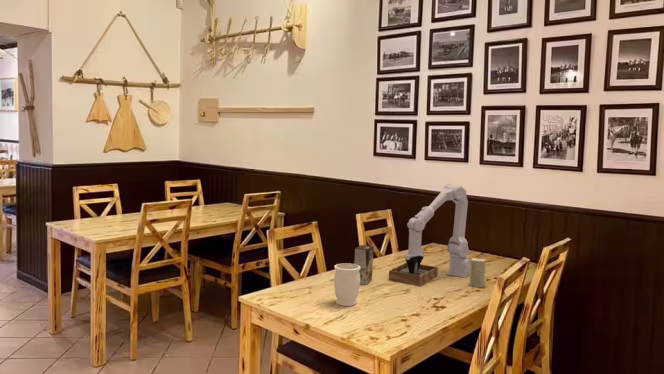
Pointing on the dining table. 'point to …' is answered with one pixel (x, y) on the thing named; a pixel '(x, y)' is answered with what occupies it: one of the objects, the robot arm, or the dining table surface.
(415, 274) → the peg
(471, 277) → the skincare box
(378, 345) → the dining table surface
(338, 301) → the jar
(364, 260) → the coffee box
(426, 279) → the box
